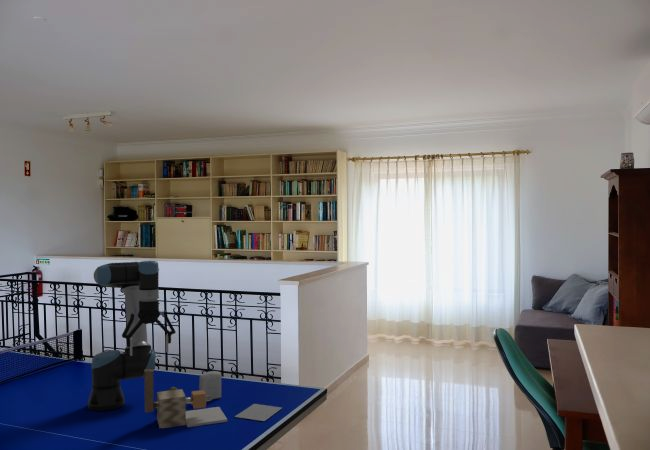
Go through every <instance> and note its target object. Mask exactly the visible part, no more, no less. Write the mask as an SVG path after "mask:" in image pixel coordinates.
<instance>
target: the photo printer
mask: <svg viewBox="0 0 650 450" xmlns="http://www.w3.org/2000/svg"><path fill="white" fill-rule="evenodd" d="M221 373H222V372H220V371H217V370H216V371H215V370H211V371H210V370H209V371H206V372H204V373H202V374H200V375H199V387H198V389H199V390H198V391H200V390H204V391H205V393H206V395H211V397H212V400H216V399H221V398H222V374H221Z"/></svg>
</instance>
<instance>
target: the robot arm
mask: <svg viewBox="0 0 650 450" xmlns="http://www.w3.org/2000/svg"><path fill="white" fill-rule="evenodd" d="M159 272H160V268H159V262H158V261H157V260H143V261H130V262H128V261H126V262H109V263H105V264H103V265H100V266H97V267H96V269H94V271H93V279H94V281H95V282H96V284H98V286H102V287H105V288H121V289H120V290H121V291H120V292H122V293H123V294H124V296H125V297H124V298H125V301H124V303H125V313H126V314H125V316H126V318H125V319H126V321H125V322H126V326H125V327H124V330H123V332H122V334H121V337H122V338H123V339H126V347H124V349H123V350H124V352H121V351H120V350H119V349H110V350H105V351H101V352H98V353H96V354H95V355H94V356H93V357H92V359H91V392H90V394H89V398H88V401H87V409H89V411H93V412H94V411H96V412H105V410H106V411H112V410H115V409H118V408H121V407H123V406H124V405H125V403H126V402H125V401H126V398H125V395H124V392H123V390H122V388H121V381H125V380H131V379H139V378H142V379H143V378H145V374H144V369H153V373H154V371H155V366H156V359H157V358H156V357H157V356H156V350H155V349H153V348H152V345H151V344H150V343H149V342H148V331H147V328H148V327H147V325H148V324H155V323H156V324H157V325H158V326H159V327H160V328H161V329H162V330H163V331H164V332H165V333H166V334H165V352H166V353H167V354H168V353H169V344H171V343H172V335H174V334H176V330H175V328H174V326H173V323H171V320H170V318H169V317H168V311H167V310H163V311H160V309H159V308H160V301H159V298H160V297H159V296H160V295H159V293H160V292H159V289H160V287H159V275H160V274H159ZM160 316H161V317H162V318H164V320H165V321H166V324H167V325H168V327H169V329H170V330H169V329H168V328H167V327H166V326H165V325H164V324H163V323H162V322H161V321H160V320H159V317H160Z"/></svg>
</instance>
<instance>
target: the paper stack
mask: <svg viewBox="0 0 650 450" xmlns="http://www.w3.org/2000/svg"><path fill="white" fill-rule="evenodd" d="M281 409H283V407H282V406H281V407H280V406H273V405H265V404H259V403H253V404H251V405H250V406H248V407H247V408H245V409H244V410H243V411H241V412H239V413H237V414H236V415H235V416H234V418H239V419H248V420H253V421H262V422H265V421H267V420H268V419H269V418H271V417H272V416H274V415H275V414H276V413H277V412H279V411H280V410H281Z"/></svg>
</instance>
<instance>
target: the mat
mask: <svg viewBox="0 0 650 450" xmlns="http://www.w3.org/2000/svg"><path fill="white" fill-rule="evenodd" d="M227 422H228V418H227V417H226V415H225V413H224V412H223V410H222V409H221V407H220V406H216V407H215V406H214V407H208V408H207V407H205V408H197V409H193V410H192V409H191V410H186V425H185V426H186V427H187V428H192V427H199V426H200V427H201V426H205V425H214V424H220V423H227Z"/></svg>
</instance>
